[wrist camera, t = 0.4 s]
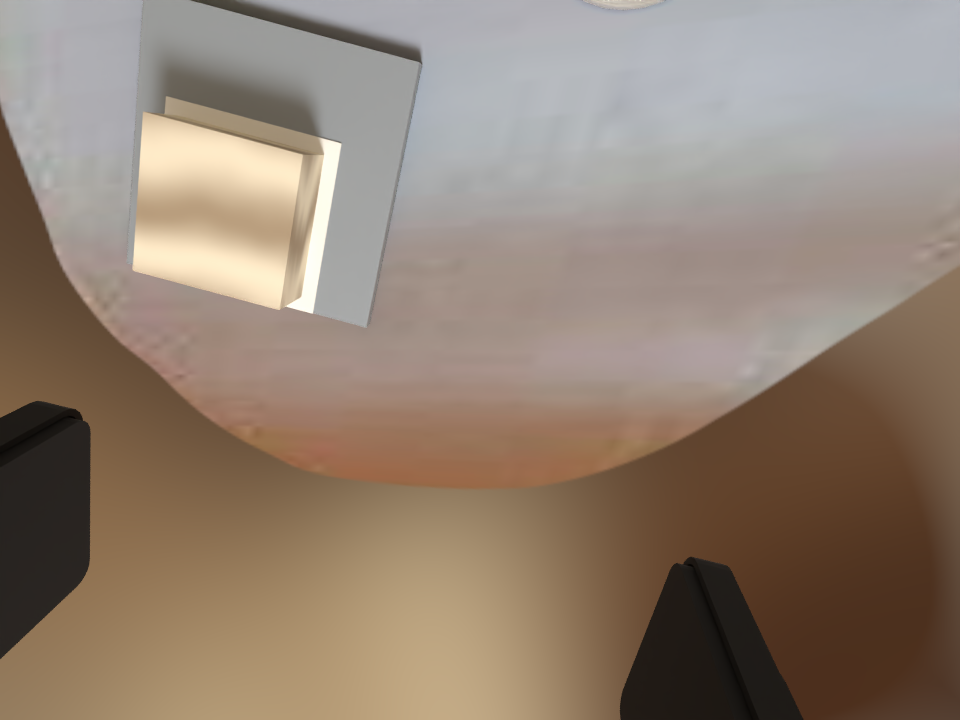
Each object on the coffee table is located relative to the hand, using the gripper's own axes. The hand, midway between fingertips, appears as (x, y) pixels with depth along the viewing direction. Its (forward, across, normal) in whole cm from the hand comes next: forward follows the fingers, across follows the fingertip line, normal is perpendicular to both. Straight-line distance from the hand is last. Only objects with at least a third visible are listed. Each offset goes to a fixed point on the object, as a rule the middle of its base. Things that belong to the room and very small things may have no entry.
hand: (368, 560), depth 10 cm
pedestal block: (+34, +18, +2) cm, 38 cm away
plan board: (+35, +17, -1) cm, 39 cm away
